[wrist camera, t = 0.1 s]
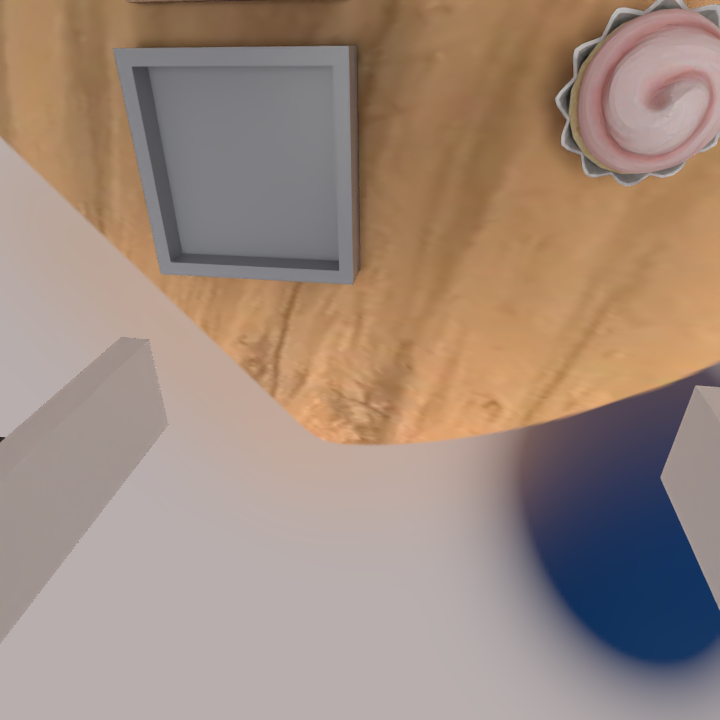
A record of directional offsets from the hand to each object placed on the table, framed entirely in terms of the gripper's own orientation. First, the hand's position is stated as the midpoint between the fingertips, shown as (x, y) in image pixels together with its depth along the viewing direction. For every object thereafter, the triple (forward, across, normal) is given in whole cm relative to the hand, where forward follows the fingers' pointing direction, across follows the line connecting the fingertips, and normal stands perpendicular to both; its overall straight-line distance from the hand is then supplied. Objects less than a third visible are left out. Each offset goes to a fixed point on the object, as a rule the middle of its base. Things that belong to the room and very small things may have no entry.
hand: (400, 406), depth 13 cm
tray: (+28, -13, 0) cm, 31 cm away
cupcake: (+28, +11, +5) cm, 31 cm away
